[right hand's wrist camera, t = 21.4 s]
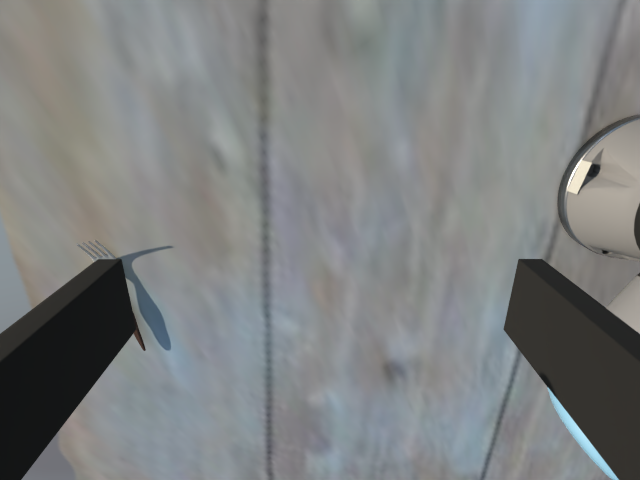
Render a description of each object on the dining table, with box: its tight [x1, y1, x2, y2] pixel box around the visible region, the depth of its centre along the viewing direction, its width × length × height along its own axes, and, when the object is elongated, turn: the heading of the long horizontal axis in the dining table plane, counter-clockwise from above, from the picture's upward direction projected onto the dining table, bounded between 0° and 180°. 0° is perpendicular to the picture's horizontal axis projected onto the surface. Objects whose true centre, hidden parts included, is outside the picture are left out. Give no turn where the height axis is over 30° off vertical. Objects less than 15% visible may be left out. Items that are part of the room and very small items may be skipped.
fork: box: [76, 240, 145, 351], centre depth 45 cm, size 3×16×2 cm, turn 11°
